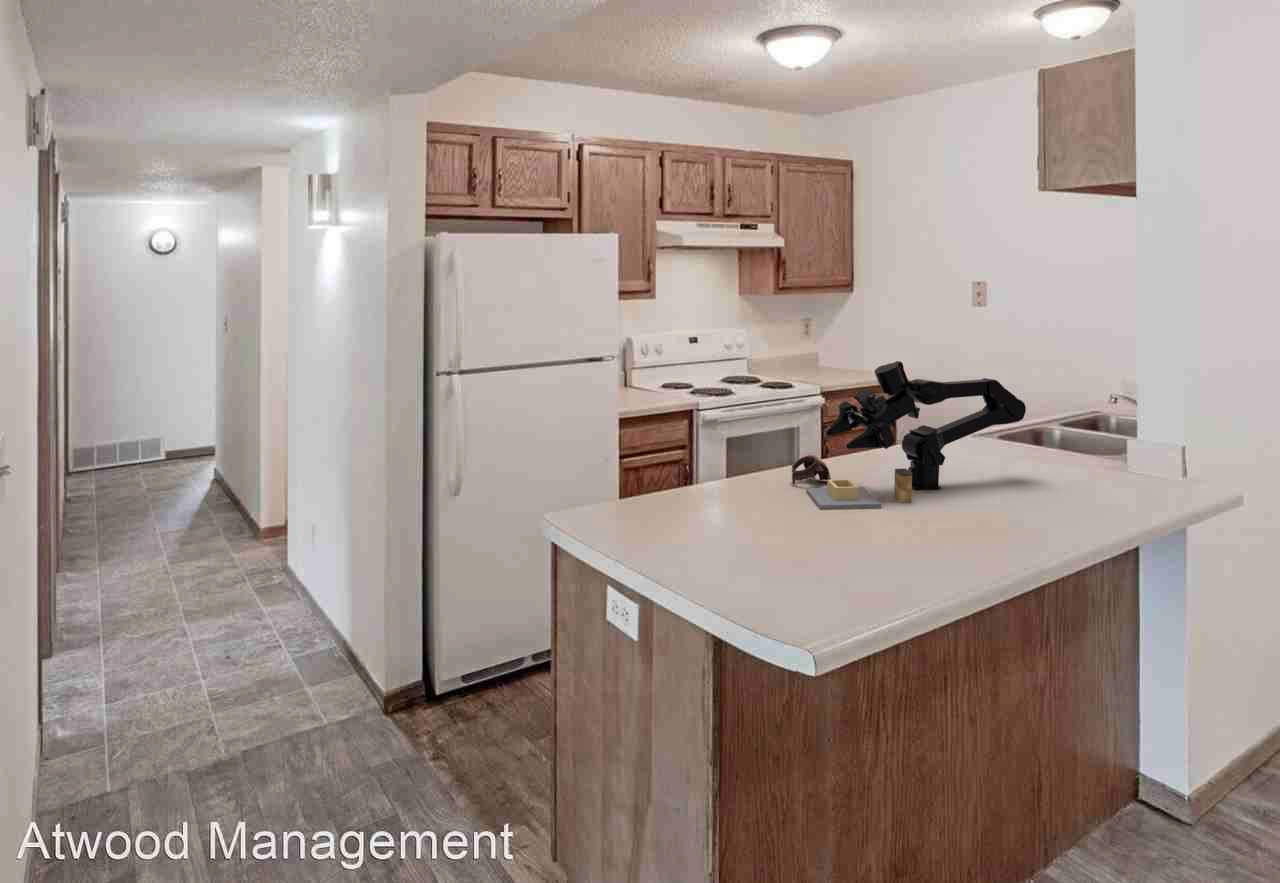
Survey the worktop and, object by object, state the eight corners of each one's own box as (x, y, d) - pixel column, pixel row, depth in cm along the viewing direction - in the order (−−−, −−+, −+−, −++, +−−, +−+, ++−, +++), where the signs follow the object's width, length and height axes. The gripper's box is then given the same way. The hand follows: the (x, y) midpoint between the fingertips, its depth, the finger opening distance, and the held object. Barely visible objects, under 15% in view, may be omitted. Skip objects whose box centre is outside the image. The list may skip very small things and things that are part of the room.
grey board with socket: (862, 490, 213) (863, 475, 213) (881, 508, 198) (881, 491, 197) (806, 492, 213) (806, 476, 213) (819, 509, 198) (820, 492, 197)
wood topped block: (904, 497, 207) (905, 468, 206) (911, 502, 202) (912, 473, 201) (894, 497, 207) (895, 468, 206) (900, 502, 202) (901, 473, 201)
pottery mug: (836, 489, 218) (823, 463, 215) (802, 504, 220) (788, 479, 217) (830, 467, 228) (817, 442, 226) (797, 481, 231) (784, 457, 228)
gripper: (860, 371, 215) (807, 400, 212) (906, 393, 198) (849, 425, 196) (871, 408, 220) (819, 437, 217) (916, 433, 203) (861, 464, 201)
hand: (836, 440), depth 208 cm, fingers open, 9 cm apart
